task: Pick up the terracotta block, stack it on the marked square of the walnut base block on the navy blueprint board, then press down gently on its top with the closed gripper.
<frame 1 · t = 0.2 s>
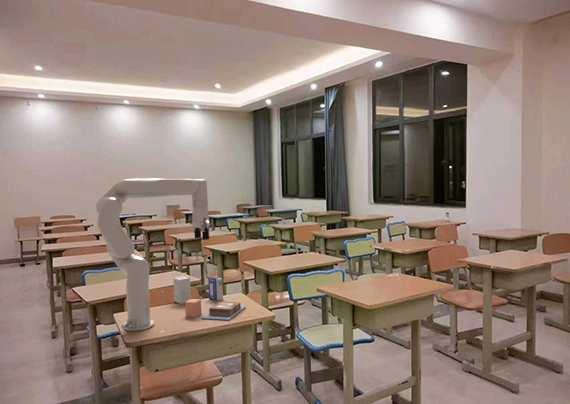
hand: (201, 238, 201), 36 cm above the table, tool pointing down, fingers open, 9 cm apart
walnut base block: (225, 312, 198), resting on blueprint board
blueprint board: (224, 313, 197), on the table
small box: (182, 302, 221), on the table
terracotta block: (193, 314, 197), on the table
walkman: (216, 299, 224), on the table
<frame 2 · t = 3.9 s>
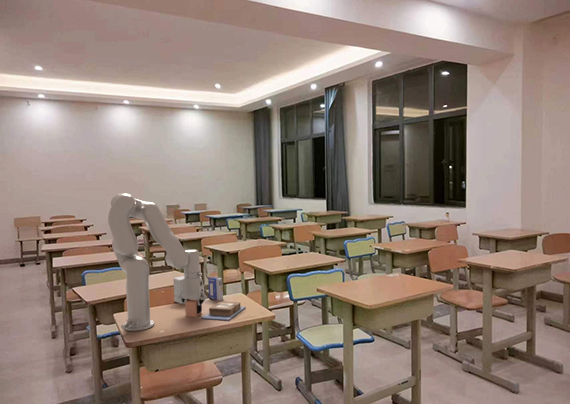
hand: (193, 312, 197), 1 cm above the table, tool pointing down, fingers closed on terracotta block, 5 cm apart
terracotta block: (193, 314, 197), on the table, touching gripper
everything else where it was.
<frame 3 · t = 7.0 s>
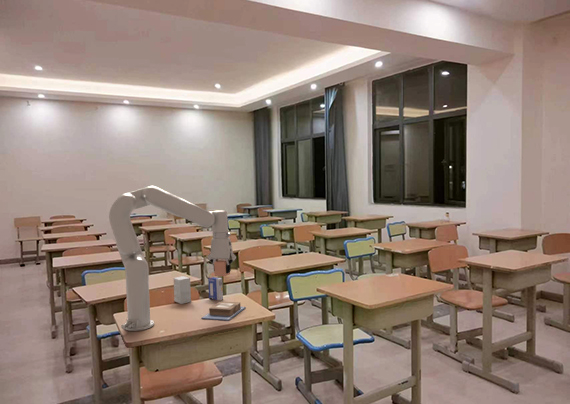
hand: (222, 272, 198), 20 cm above the table, tool pointing down, fingers closed on terracotta block, 5 cm apart
terracotta block: (222, 274, 198), point 19 cm above the table, touching gripper
everything else where it was.
when the fingers open (6 cm above the table, at t = 10.1 s): terracotta block drops 1 cm, resting on walnut base block.
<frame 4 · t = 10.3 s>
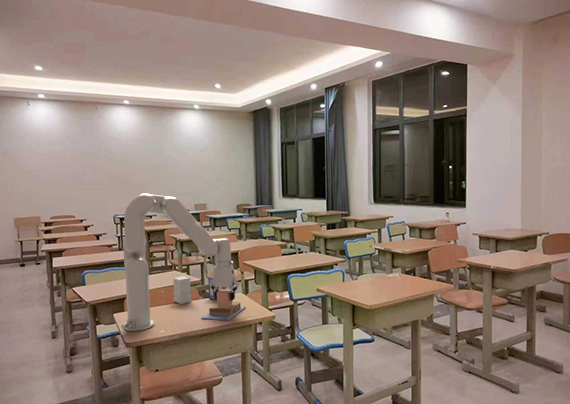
hand: (224, 299, 198), 7 cm above the table, tool pointing down, fingers open, 7 cm apart
terracotta block: (224, 305, 198), point 4 cm above the table, touching walnut base block
everything else where it was.
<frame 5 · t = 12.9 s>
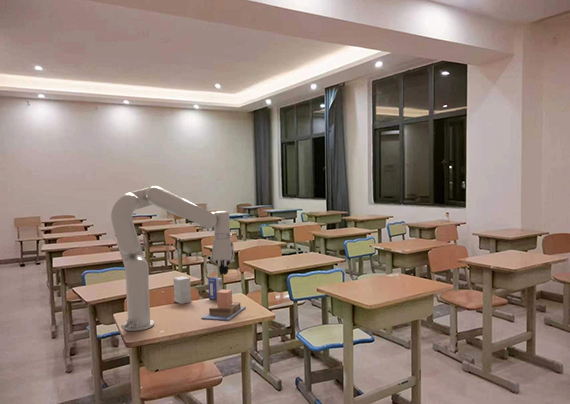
hand: (223, 273, 198), 19 cm above the table, tool pointing down, fingers closed
nothing on the table moved.
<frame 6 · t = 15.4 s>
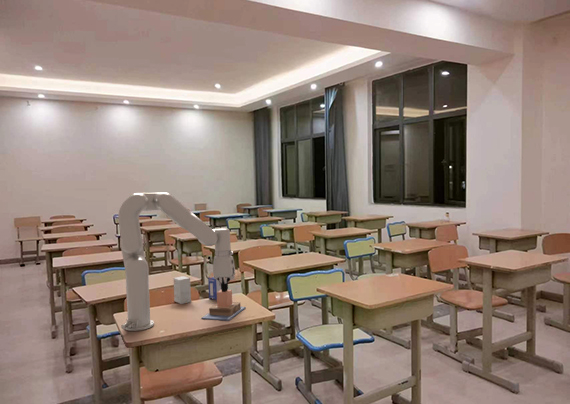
hand: (224, 291, 198), 11 cm above the table, tool pointing down, fingers closed
terracotta block: (224, 305, 198), point 4 cm above the table, touching gripper, walnut base block
everything else where it was.
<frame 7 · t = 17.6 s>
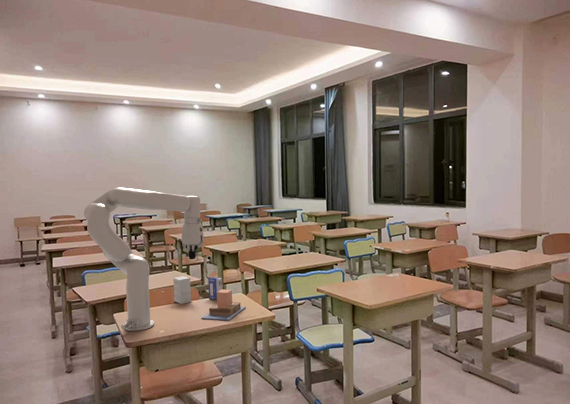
hand: (192, 258, 198), 27 cm above the table, tool pointing down, fingers closed
terracotta block: (224, 305, 198), point 4 cm above the table, touching walnut base block
everything else where it was.
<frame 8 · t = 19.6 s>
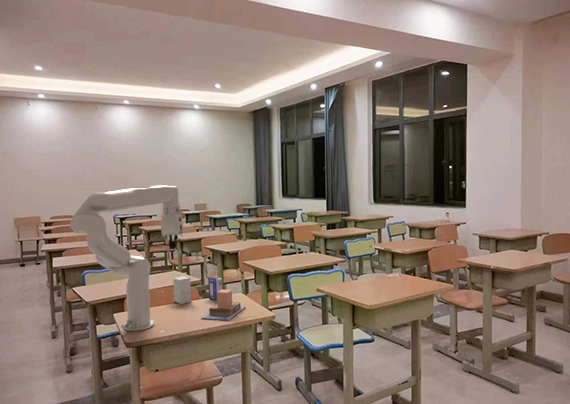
hand: (172, 248, 199), 32 cm above the table, tool pointing down, fingers closed
nothing on the table moved.
at the end: terracotta block 0.1 cm off-centre on the walnut base block, point 3.6 cm above the walnut base block's base; terracotta block tilted 0°; the gripper is holding nothing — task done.
